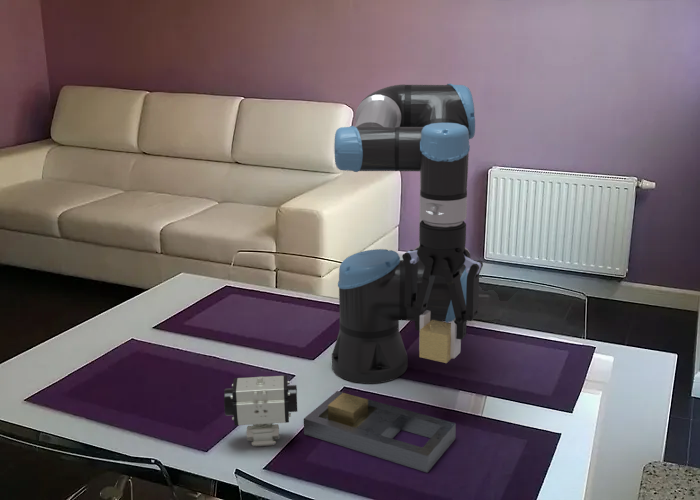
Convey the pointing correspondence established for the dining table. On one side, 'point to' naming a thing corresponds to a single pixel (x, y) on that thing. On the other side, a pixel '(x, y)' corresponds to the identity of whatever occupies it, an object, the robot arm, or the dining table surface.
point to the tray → (385, 433)
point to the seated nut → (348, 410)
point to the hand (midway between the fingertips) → (439, 351)
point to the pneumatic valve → (261, 406)
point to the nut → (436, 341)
